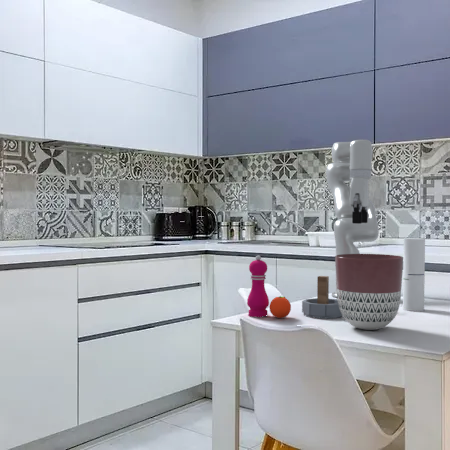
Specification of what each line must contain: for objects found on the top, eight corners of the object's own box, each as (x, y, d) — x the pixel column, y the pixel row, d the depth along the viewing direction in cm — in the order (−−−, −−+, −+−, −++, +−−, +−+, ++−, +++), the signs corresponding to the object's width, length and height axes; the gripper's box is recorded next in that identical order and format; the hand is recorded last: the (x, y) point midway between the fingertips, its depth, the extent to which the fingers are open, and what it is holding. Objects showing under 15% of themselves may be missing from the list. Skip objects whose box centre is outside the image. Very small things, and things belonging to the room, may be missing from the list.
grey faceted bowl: (309, 310, 203) (310, 297, 203) (346, 313, 197) (347, 299, 197) (298, 316, 191) (298, 302, 191) (337, 319, 185) (337, 305, 185)
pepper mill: (243, 316, 191) (243, 255, 190) (252, 313, 197) (252, 254, 196) (263, 318, 187) (263, 256, 187) (272, 314, 194) (272, 255, 193)
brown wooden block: (319, 311, 196) (319, 275, 196) (328, 311, 195) (328, 276, 194) (317, 312, 193) (317, 276, 193) (326, 313, 192) (326, 277, 192)
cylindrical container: (420, 311, 200) (421, 239, 199) (399, 309, 204) (400, 238, 203) (427, 309, 206) (427, 238, 205) (407, 307, 210) (407, 237, 209)
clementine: (276, 314, 194) (276, 293, 194) (295, 316, 190) (295, 295, 190) (265, 318, 187) (265, 296, 187) (285, 320, 184) (285, 298, 183)
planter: (353, 319, 186) (353, 252, 185) (412, 327, 173) (413, 256, 173) (322, 329, 171) (323, 256, 170) (385, 338, 158) (386, 260, 158)
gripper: (355, 176, 216) (354, 222, 216) (344, 173, 200) (343, 223, 201) (375, 176, 213) (375, 222, 213) (366, 173, 197) (365, 223, 198)
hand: (360, 223), depth 207 cm, fingers open, 9 cm apart
